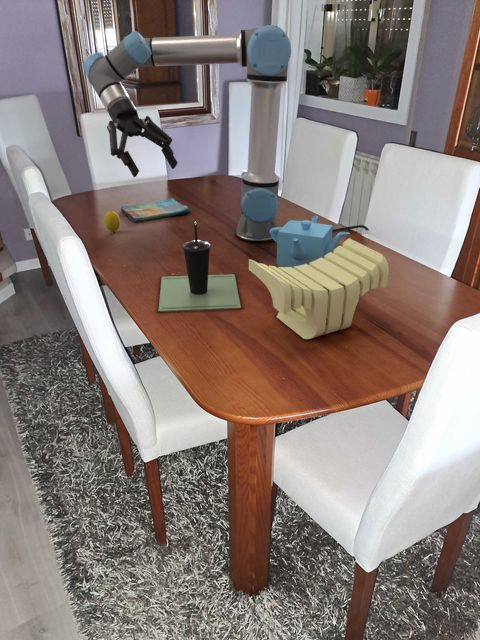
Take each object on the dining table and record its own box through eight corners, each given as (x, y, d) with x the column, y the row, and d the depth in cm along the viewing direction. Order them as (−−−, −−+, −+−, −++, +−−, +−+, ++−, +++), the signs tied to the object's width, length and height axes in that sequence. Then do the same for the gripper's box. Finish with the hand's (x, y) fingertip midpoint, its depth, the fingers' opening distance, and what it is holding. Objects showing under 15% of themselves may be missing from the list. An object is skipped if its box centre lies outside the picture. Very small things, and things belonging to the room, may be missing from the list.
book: (190, 213, 210) (190, 207, 209) (135, 223, 200) (134, 216, 198) (173, 202, 222) (173, 196, 221) (120, 211, 212) (119, 205, 211)
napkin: (234, 275, 159) (234, 273, 159) (240, 308, 141) (240, 307, 141) (161, 277, 158) (161, 276, 157) (158, 312, 139) (158, 310, 139)
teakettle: (264, 261, 169) (265, 216, 161) (315, 252, 175) (318, 209, 168) (292, 284, 154) (294, 236, 147) (346, 273, 161) (351, 227, 153)
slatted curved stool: (281, 353, 122) (285, 284, 112) (248, 324, 134) (248, 258, 124) (380, 323, 134) (391, 258, 125) (341, 299, 146) (348, 238, 137)
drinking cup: (180, 294, 147) (175, 225, 137) (192, 283, 153) (189, 216, 143) (204, 299, 145) (202, 229, 134) (216, 288, 151) (214, 220, 140)
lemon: (117, 235, 189) (115, 213, 184) (103, 234, 189) (100, 212, 185) (123, 230, 193) (121, 208, 189) (109, 229, 194) (106, 207, 190)
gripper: (150, 111, 160) (184, 170, 159) (77, 120, 145) (114, 185, 144) (159, 93, 154) (195, 154, 153) (84, 101, 139) (123, 169, 138)
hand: (156, 170), depth 149 cm, fingers open, 13 cm apart
